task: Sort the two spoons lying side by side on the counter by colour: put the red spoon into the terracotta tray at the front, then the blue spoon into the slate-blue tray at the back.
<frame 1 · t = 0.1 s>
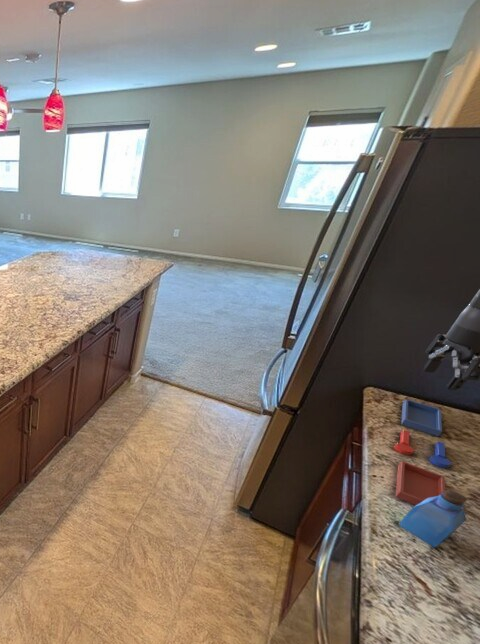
hand: (439, 380, 102), 21 cm above the countertop, tool pointing down, fingers open, 8 cm apart
red tray: (418, 489, 97), on the countertop
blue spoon: (438, 456, 106), on the countertop
blue tray: (419, 419, 120), on the countertop
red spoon: (403, 444, 111), on the countertop
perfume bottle: (422, 531, 88), on the countertop
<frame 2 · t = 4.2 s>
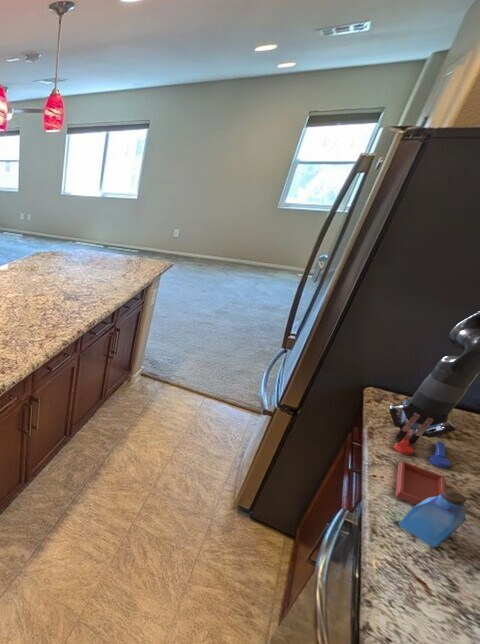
hand: (403, 441, 111), 0 cm above the countertop, tool pointing down, fingers closed on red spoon, 1 cm apart
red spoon: (402, 443, 111), on the countertop, touching gripper
everything else where it was.
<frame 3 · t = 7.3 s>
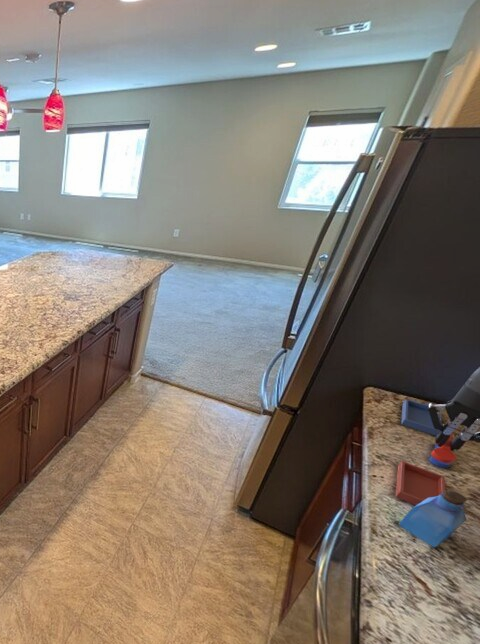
hand: (444, 446, 93), 12 cm above the countertop, tool pointing down, fingers closed on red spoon, 1 cm apart
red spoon: (443, 447, 93), point 12 cm above the countertop, tilted 10°, touching gripper
everything else where it was.
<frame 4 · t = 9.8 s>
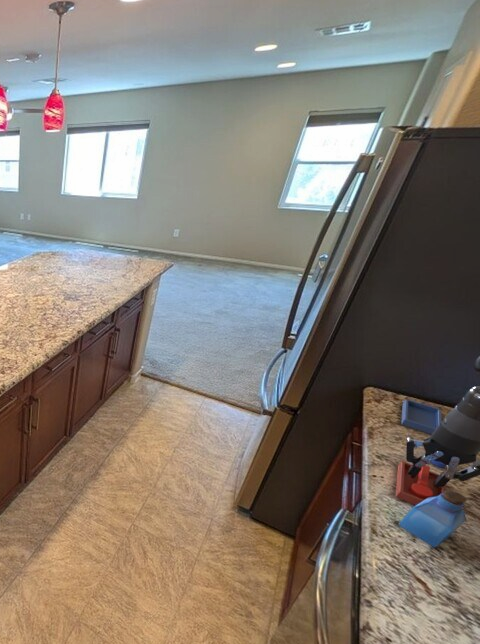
hand: (423, 480, 97), 2 cm above the countertop, tool pointing down, fingers open, 3 cm apart
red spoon: (420, 482, 97), point 1 cm above the countertop, tilted 9°, touching red tray
everything else where it was.
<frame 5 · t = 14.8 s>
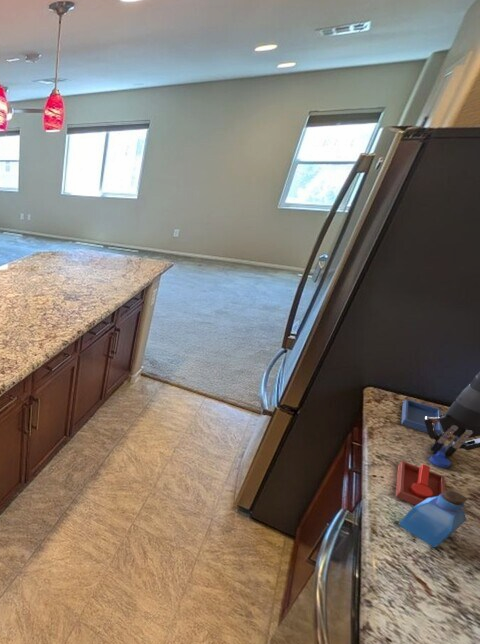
hand: (438, 453, 107), 0 cm above the countertop, tool pointing down, fingers closed on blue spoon, 1 cm apart
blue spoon: (438, 456, 106), on the countertop, touching gripper
everything else where it was.
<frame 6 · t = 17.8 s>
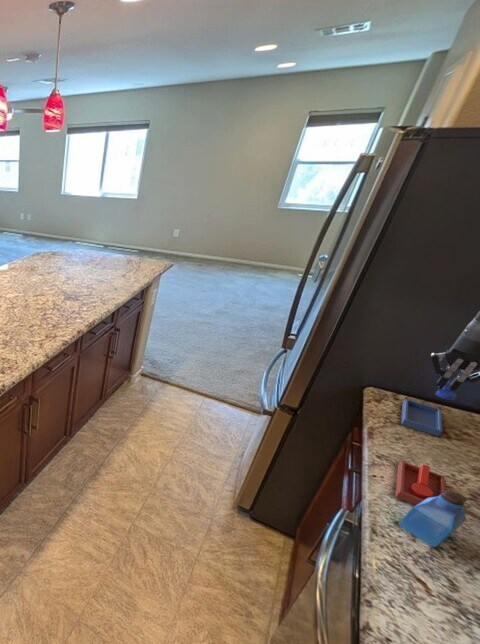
hand: (444, 388, 113), 12 cm above the countertop, tool pointing down, fingers closed on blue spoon, 1 cm apart
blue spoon: (444, 391, 112), point 12 cm above the countertop, touching gripper
everything else where it was.
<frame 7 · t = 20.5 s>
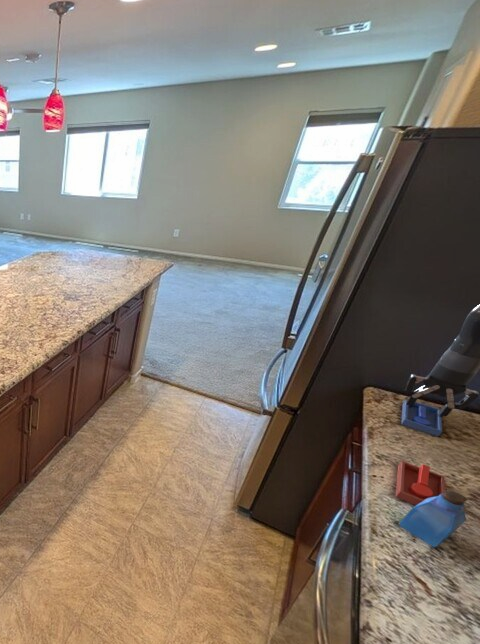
hand: (424, 410, 119), 3 cm above the countertop, tool pointing down, fingers open, 6 cm apart
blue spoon: (420, 418, 119), resting on blue tray
everything else where it was.
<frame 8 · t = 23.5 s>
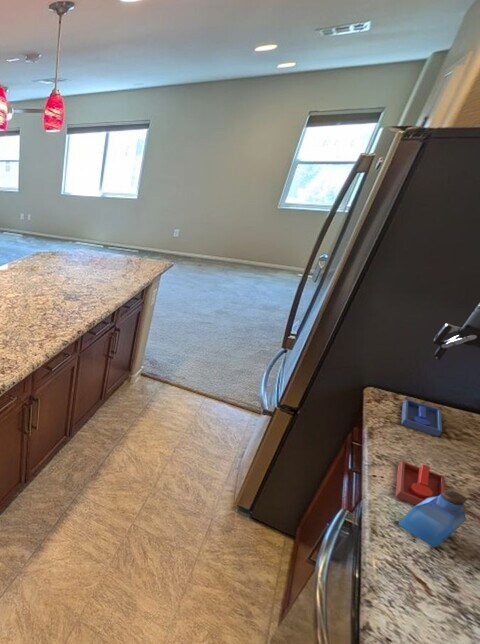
hand: (459, 363, 110), 20 cm above the countertop, tool pointing down, fingers open, 8 cm apart
nothing on the countertop moved.
at the end: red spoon 1.4 cm from the red tray (horizontally); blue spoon 0.0 cm from the blue tray (horizontally); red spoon point 1.2 cm above the countertop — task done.
